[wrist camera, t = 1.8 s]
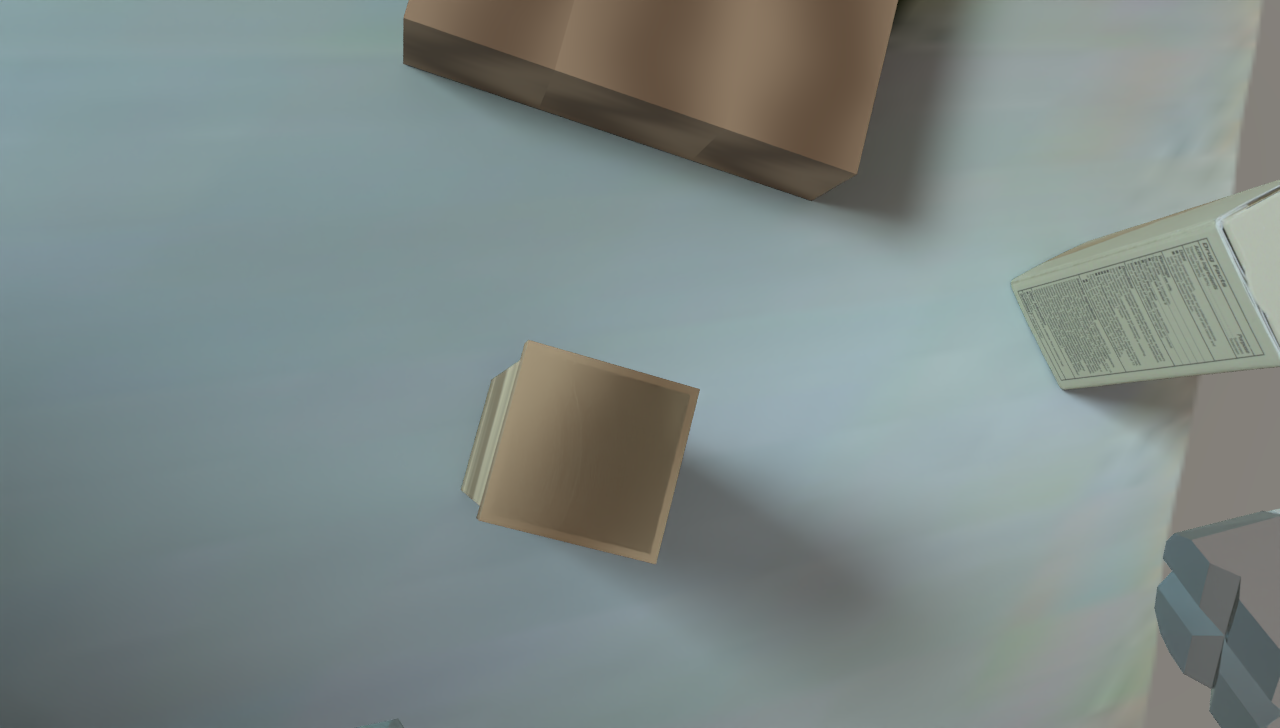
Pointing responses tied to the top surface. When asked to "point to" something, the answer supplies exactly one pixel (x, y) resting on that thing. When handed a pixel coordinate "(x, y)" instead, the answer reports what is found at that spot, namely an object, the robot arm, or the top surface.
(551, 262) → the top surface
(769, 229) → the top surface
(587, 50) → the square hole block
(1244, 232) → the box
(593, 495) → the peg
